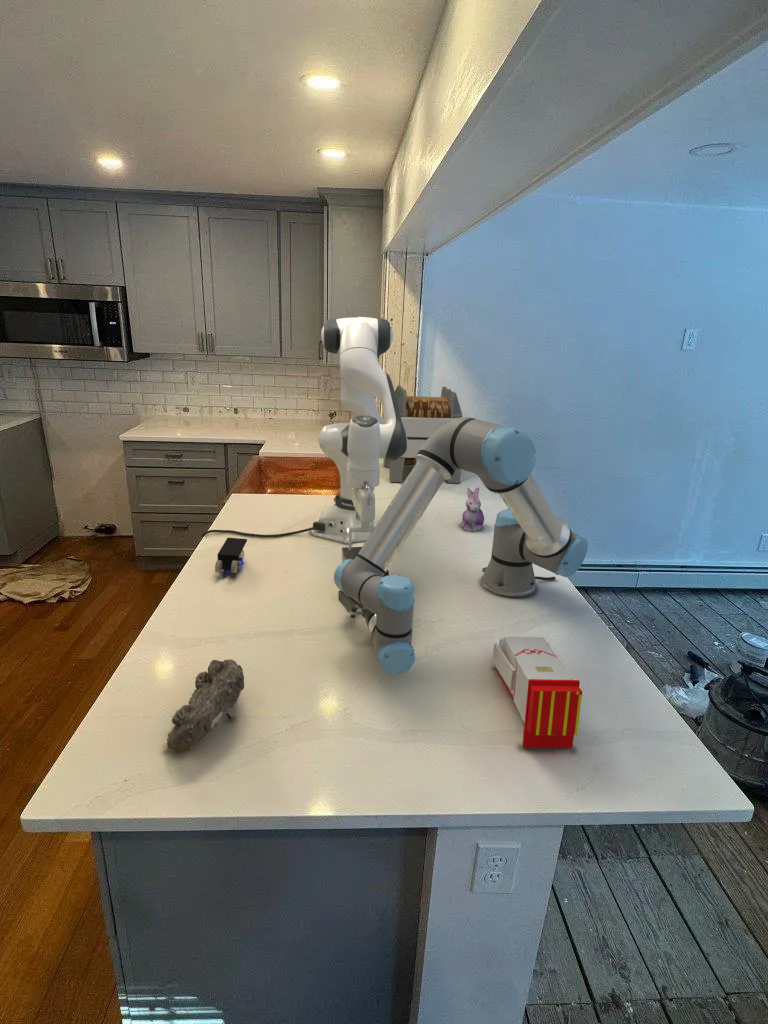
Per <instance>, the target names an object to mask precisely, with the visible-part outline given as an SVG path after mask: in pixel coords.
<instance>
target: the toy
mask: <svg viewBox="0 0 768 1024" xmlns="http://www.w3.org/2000/svg"><path fill="white" fill-rule="evenodd" d="M491 662H492V663H493V665H494V667H495V669H496V671H497V673H498V675H499V676H500V678H501V680H502V683H503V684H504V686H505V688H506V689H507V691H508V693H509V695H510V697H511V698H512V700H513V702H514V705H515V707H516V709H517V711H518V713H519V715H520V717H521V719H522V722H523V724H524V725H523V736H522V748H524V749H573V747H574V738H575V736H577V737H578V734H579V725H580V717H581V710H582V709H581V708H582V701H583V700H582V699H583V690H582V689H581V688H580V685H581V681H580V679H574V677H573V676H572V675H571V673H570V672H569V670H568V669H567V668H566V667H565V665H564V664H563V662H562V661H561V660H560V658H559V657H558V656H557V654H556V653H555V651H554V650H553V649H552V647H551V645H550V643H549V642H547V640H546V639H545V637H543V636H542V637H541V636H535V637H534V636H503V637H500V638H499V642H498V643H497V642H494V643H493V649H492V657H491Z"/></svg>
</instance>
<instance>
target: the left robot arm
mask: <svg viewBox="0 0 768 1024" xmlns="http://www.w3.org/2000/svg"><path fill="white" fill-rule="evenodd" d="M320 337H321V338H320V340H321V343H322V345H323V347H324V350H326V352H327V353H331V354H335V355H336V354H339V368H340V370H339V385H340V386H339V387H340V389H339V390H340V391H339V392H340V393H339V394H340V403H341V406H342V407H343V408H344V409H345V410H347V411H349V412H350V413H353V414H355V416H353V417H352V418H350V421H349V422H335V423H330V424H326V425H323V427H322V429H321V430H320V432H319V435H318V445H319V447H320V450H321V451H322V452H323V453H324V454H325V455H326V456H328V457H329V458H330V459H331V460H332V462H333V463H334V464H335V466H336V467H337V470H338V474H339V483H340V484H339V485H340V488H339V489H340V490H339V491H338V492H337V494H336V495H335V496H334V497H333V502H334V504H333V505H331V506H329V507H328V508H326V509H325V510H323V512H321V514H320V515H319V517H318V521H314V522H312V527H308V528H304V529H300V530H296V531H289V532H285V533H277V534H260V533H259V534H258V533H249V532H242V531H237V530H232V529H231V530H230V529H209V530H206V531H205V532H203V533H202V534H201V535H200V537H201V538H204V537H205V536H207V535H208V534H211V533H222V534H223V533H224V534H225V533H226V534H228V533H229V534H236V535H240V536H247V537H254V538H279V537H286V536H292V535H298V534H301V533H305V532H309V531H310V533H311V536H315V537H319V538H323V539H326V540H330V541H336V542H339V543H343V544H349V531H348V527H349V526H361V531H362V532H352V544H353V543H357V542H366V540H367V539H368V537H369V536H370V534H371V532H368V526H374V527H375V523H374V522H375V518H376V494H375V492H374V491H375V488H376V487H378V486H379V485H380V474H381V473H380V471H381V470H380V469H381V465H380V460H384V459H387V460H397V459H399V458H400V457H401V456H403V455H404V454H405V452H406V450H407V436H406V433H405V429H404V426H403V423H402V420H401V416H400V412H399V408H398V404H397V399H396V395H395V388H394V384H393V381H392V378H391V375H390V374H389V373H388V372H385V371H384V370H383V368H382V367H381V365H380V363H379V358H380V356H381V355H383V354H385V353H386V352H387V351H389V349H390V348H391V345H392V342H393V337H394V334H393V329H392V326H391V323H390V321H389V320H388V319H386V318H381V317H377V318H376V317H375V318H374V317H368V316H357V317H342V318H341V317H340V318H336V317H333V318H329V319H326V320H325V322H324V323H323V326H322V328H321V332H320ZM376 399H378V401H380V403H381V408H382V411H383V415H384V416H383V417H384V418H383V417H382V415H381V414H380V412H379V410H378V407H377V403H376Z"/></svg>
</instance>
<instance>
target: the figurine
mask: <svg viewBox="0 0 768 1024" xmlns="http://www.w3.org/2000/svg"><path fill="white" fill-rule="evenodd" d="M466 491H467V493H466V494H467V499H466V501H465V507H466V509H465V510H464V511H463V513H462V516H461V517H462V518H461V519H462V520H461V527H462V528H463V530H464V531H469V532H475V531H480V530H481V529H482V528H484V523H485V515H484V512H483V510H482V509H481V507H482V502H481V499H480V497H479V494H480V488H479V487H478V486H477V487H476V488H475V489H474V490H473V491H472V490H471V488H469V487H468V488H467V489H466Z"/></svg>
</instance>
